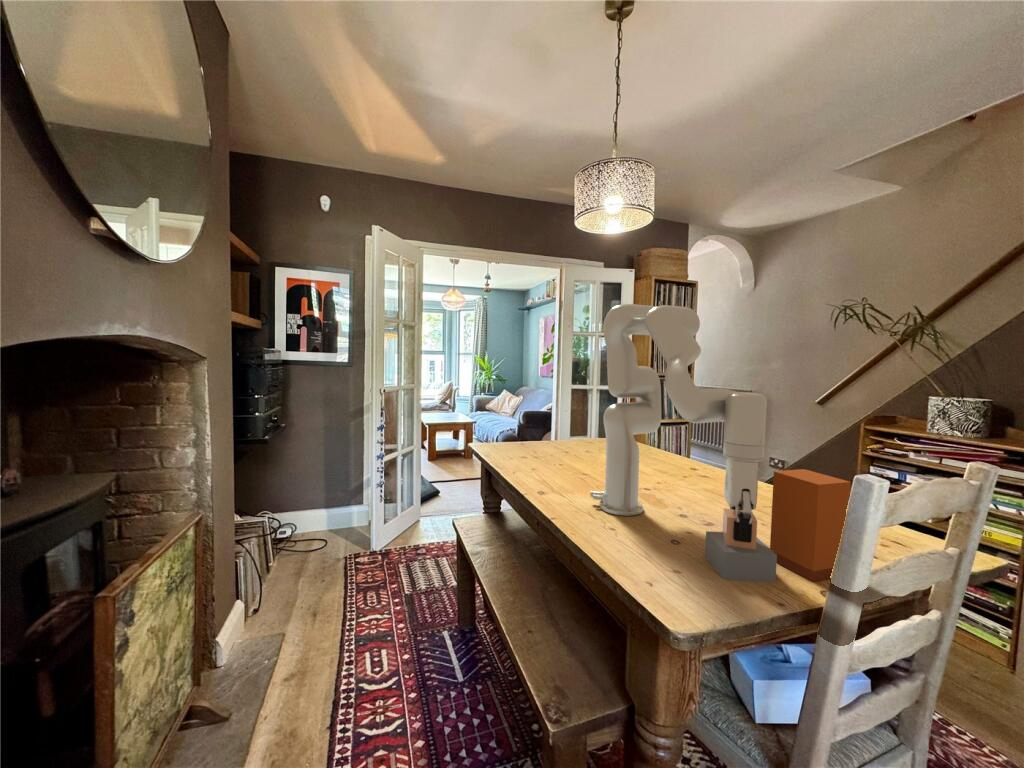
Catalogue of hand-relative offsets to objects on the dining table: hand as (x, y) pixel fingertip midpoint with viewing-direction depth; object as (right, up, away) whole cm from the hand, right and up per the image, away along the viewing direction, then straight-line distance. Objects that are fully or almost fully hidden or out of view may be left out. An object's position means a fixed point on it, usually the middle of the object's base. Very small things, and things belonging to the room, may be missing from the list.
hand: (739, 533), depth 87 cm
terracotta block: (0, -2, 0) cm, 2 cm away
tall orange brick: (+15, -8, +1) cm, 17 cm away
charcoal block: (0, -8, 0) cm, 8 cm away
